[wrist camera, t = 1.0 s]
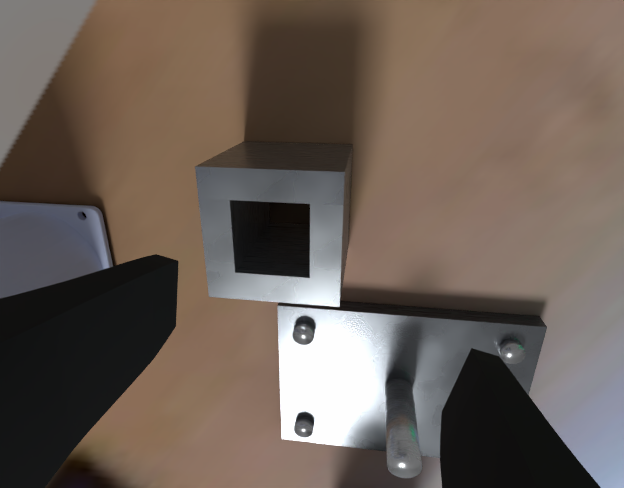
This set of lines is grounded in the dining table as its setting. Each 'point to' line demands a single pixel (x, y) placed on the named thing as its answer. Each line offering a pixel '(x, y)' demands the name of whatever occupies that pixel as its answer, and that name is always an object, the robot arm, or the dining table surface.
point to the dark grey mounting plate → (387, 372)
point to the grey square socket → (276, 236)
